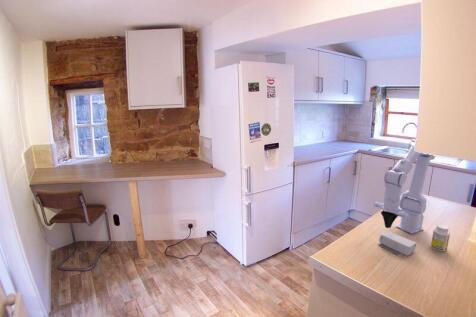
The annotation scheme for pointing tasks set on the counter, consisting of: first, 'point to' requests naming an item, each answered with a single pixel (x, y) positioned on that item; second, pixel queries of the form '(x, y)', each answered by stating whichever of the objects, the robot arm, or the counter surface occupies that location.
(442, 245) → the supplement bottle
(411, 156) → the robot arm
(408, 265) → the counter surface
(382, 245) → the mat
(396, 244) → the skincare box
